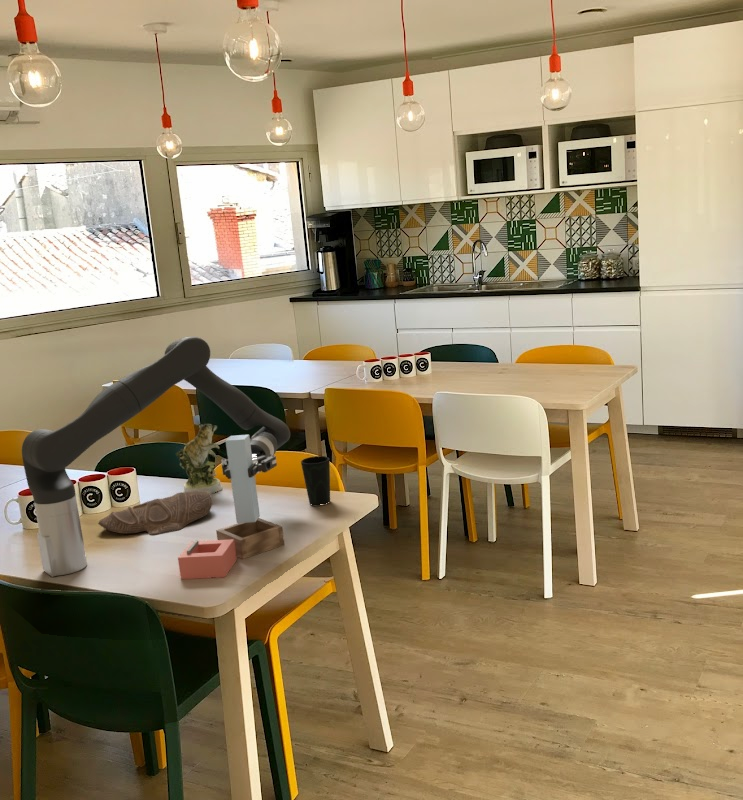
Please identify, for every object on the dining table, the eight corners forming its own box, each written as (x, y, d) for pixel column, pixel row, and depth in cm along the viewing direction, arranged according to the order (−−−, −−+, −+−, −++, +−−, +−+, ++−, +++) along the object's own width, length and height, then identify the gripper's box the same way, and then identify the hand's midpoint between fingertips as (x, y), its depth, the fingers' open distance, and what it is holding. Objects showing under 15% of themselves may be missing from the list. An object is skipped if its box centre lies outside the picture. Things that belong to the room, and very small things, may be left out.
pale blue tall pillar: (255, 522, 213) (244, 439, 209) (236, 523, 214) (225, 440, 210) (259, 515, 218) (249, 434, 214) (241, 516, 218) (230, 435, 214)
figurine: (231, 489, 267) (222, 423, 263) (187, 500, 260) (177, 432, 256) (217, 481, 277) (209, 417, 273) (174, 491, 270) (165, 426, 266)
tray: (242, 559, 209) (240, 540, 208) (218, 548, 218) (216, 530, 217) (284, 544, 216) (282, 526, 215) (259, 534, 225) (257, 517, 224)
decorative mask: (91, 506, 247) (198, 475, 258) (96, 528, 249) (203, 497, 260) (102, 529, 226) (218, 494, 237) (108, 553, 228) (223, 518, 238)
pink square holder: (225, 577, 199) (221, 552, 198) (180, 579, 200) (177, 554, 199) (236, 559, 209) (233, 535, 208) (194, 562, 210) (191, 538, 209)
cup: (303, 501, 248) (298, 459, 246) (329, 496, 250) (325, 454, 248) (309, 509, 241) (304, 465, 239) (337, 504, 243) (332, 460, 241)
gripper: (226, 441, 227) (206, 460, 211) (282, 437, 226) (267, 456, 209) (230, 470, 229) (211, 491, 212) (286, 466, 227) (271, 487, 210)
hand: (239, 474), depth 211 cm, fingers closed on pale blue tall pillar, 4 cm apart
